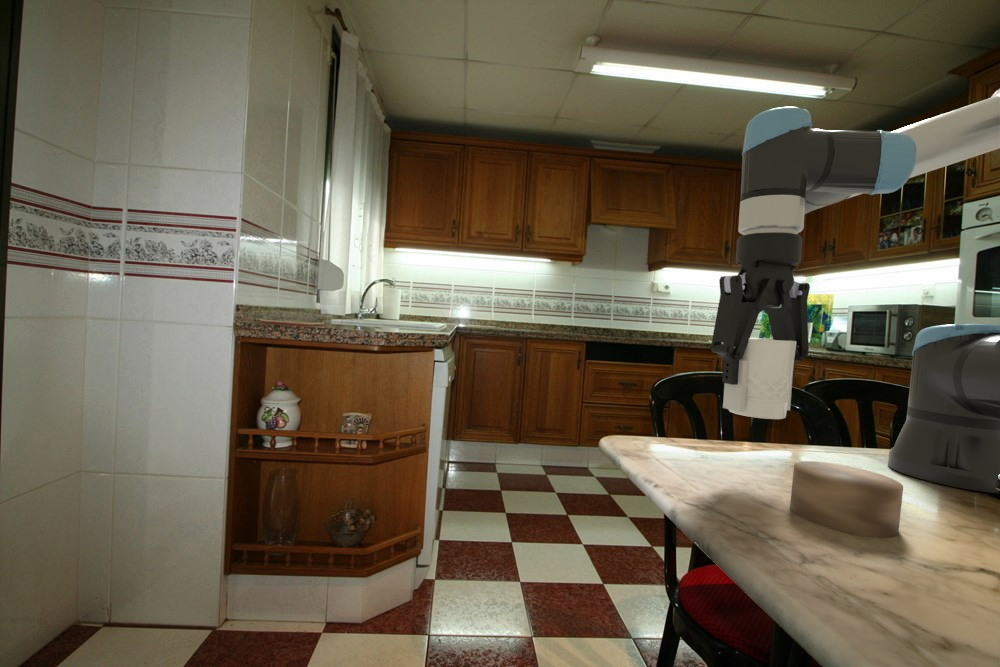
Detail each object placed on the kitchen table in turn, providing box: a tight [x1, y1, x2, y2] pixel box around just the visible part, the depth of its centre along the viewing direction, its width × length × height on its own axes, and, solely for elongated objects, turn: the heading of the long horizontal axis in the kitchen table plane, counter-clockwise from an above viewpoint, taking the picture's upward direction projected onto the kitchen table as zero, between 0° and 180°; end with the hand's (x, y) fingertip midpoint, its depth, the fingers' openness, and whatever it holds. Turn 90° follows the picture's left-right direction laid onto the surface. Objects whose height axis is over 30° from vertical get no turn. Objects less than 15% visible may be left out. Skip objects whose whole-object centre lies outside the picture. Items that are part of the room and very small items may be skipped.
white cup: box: [728, 337, 797, 420], centre depth 66 cm, size 8×8×10 cm
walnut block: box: [789, 460, 904, 539], centre depth 56 cm, size 10×10×5 cm
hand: (756, 408), depth 67 cm, fingers closed on white cup, 8 cm apart
